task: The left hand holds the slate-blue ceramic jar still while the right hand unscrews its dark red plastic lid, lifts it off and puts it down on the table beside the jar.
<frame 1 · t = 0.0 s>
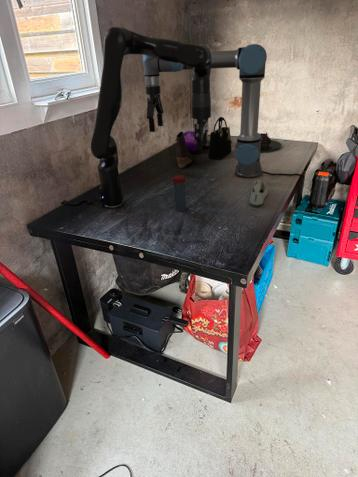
left hand: (201, 146, 135), 29 cm above the table, tool pointing down, fingers open, 8 cm apart
right hand: (156, 128, 177), 28 cm above the table, tool pointing down, fingers open, 13 cm apart
boot: (185, 163, 214), on the table
handbag: (220, 155, 225), on the table
jar: (180, 209, 153), on the table
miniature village: (256, 146, 240), on the table
decorative orb: (190, 153, 234), on the table
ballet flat: (258, 197, 160), on the table
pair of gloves: (208, 144, 253), on the table
lid: (179, 177, 145), point 15 cm above the table, screwed on, not yet turned
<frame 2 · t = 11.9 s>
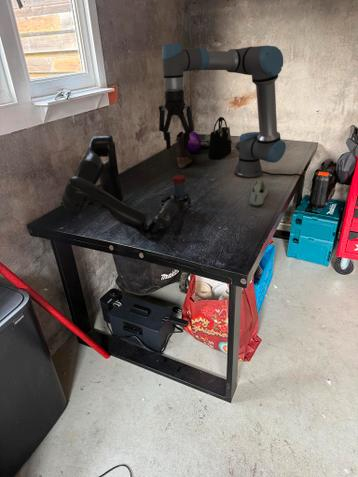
left hand: (181, 195, 152), 6 cm above the table, tool horizontal, fingers closed on jar, 4 cm apart
right hand: (177, 148, 139), 28 cm above the table, tool pointing down, fingers open, 7 cm apart
jar: (180, 209, 153), on the table, touching left hand
everything else where it was.
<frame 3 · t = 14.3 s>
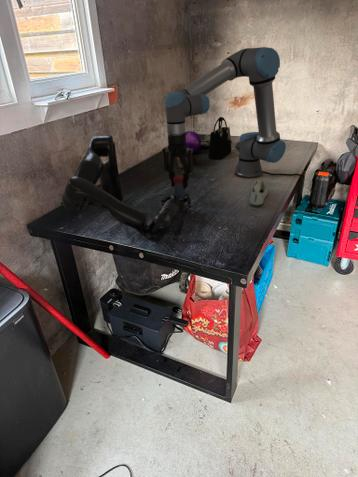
left hand: (181, 195, 152), 6 cm above the table, tool horizontal, fingers closed on jar, 4 cm apart
right hand: (179, 186, 147), 11 cm above the table, tool pointing down, fingers closed on lid, 5 cm apart
jar: (180, 209, 153), on the table, touching left hand
lid: (179, 177, 145), point 15 cm above the table, screwed on, not yet turned, touching right hand
everything else where it was.
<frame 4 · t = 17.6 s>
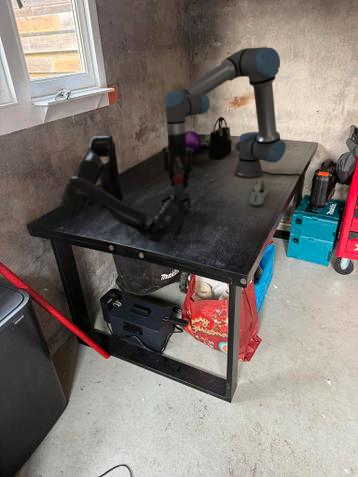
left hand: (181, 195, 152), 6 cm above the table, tool horizontal, fingers closed on jar, 4 cm apart
right hand: (179, 186, 147), 12 cm above the table, tool pointing down, fingers closed on lid, 5 cm apart
jar: (180, 209, 153), on the table, touching left hand
lid: (179, 177, 145), point 16 cm above the table, turned 111° so far, risen 0.1 cm, still on its thread, touching right hand
everything else where it was.
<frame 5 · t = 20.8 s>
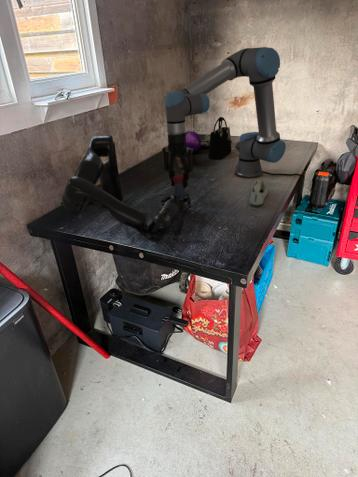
left hand: (181, 195, 152), 6 cm above the table, tool horizontal, fingers closed on jar, 4 cm apart
right hand: (179, 186, 147), 12 cm above the table, tool pointing down, fingers closed on lid, 5 cm apart
jar: (180, 209, 153), on the table, touching left hand
lid: (179, 177, 145), point 16 cm above the table, turned 221° so far, risen 0.2 cm, still on its thread, touching right hand
everything else where it was.
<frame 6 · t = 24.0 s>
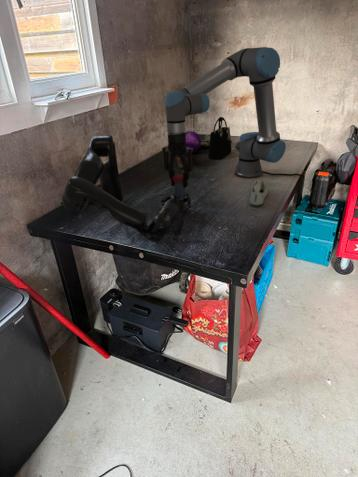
left hand: (181, 195, 152), 6 cm above the table, tool horizontal, fingers closed on jar, 4 cm apart
right hand: (179, 185, 147), 12 cm above the table, tool pointing down, fingers closed on lid, 5 cm apart
jar: (180, 209, 153), on the table, touching left hand
lid: (179, 177, 145), point 16 cm above the table, turned 332° so far, risen 0.4 cm, still on its thread, touching right hand
everything else where it was.
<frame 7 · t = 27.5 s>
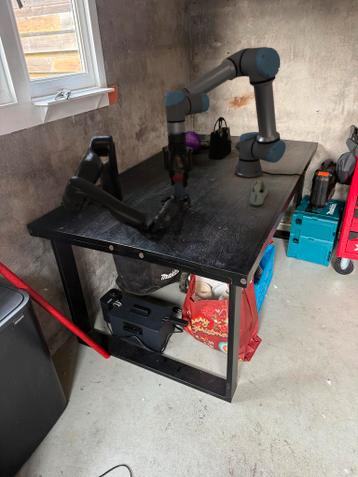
left hand: (181, 195, 152), 6 cm above the table, tool horizontal, fingers closed on jar, 4 cm apart
right hand: (179, 185, 147), 12 cm above the table, tool pointing down, fingers closed on lid, 5 cm apart
jar: (180, 209, 153), on the table, touching left hand
lid: (179, 176, 145), point 16 cm above the table, turned 442° so far, risen 0.5 cm, still on its thread, touching right hand
everything else where it was.
when the right hand's fingers open (0 cm above the table, at t = 35.0 s): lid drops 3 cm, point 2 cm above the table.
when the left hand's fingers open (6 cm above the table, at t = 35.6 s): jar stays where it is, on the table.
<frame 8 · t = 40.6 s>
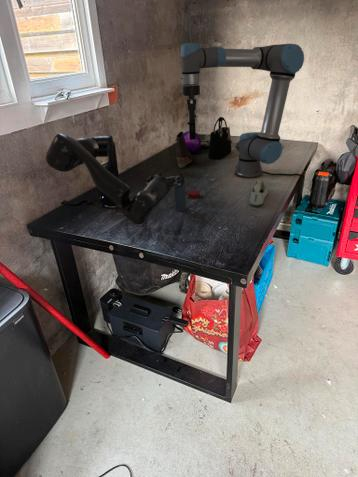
left hand: (170, 174, 133), 21 cm above the table, tool horizontal, fingers open, 8 cm apart
right hand: (192, 135, 151), 30 cm above the table, tool pointing down, fingers open, 13 cm apart
jar: (180, 209, 153), on the table
lid: (193, 193, 165), point 2 cm above the table, off its thread
everything else where it was.
at the end: lid came off its thread; lid point 1.7 cm above the table; the left hand is holding nothing; the right hand is holding nothing; jar tilted 0°; jar moved 0.0 cm from its start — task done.
